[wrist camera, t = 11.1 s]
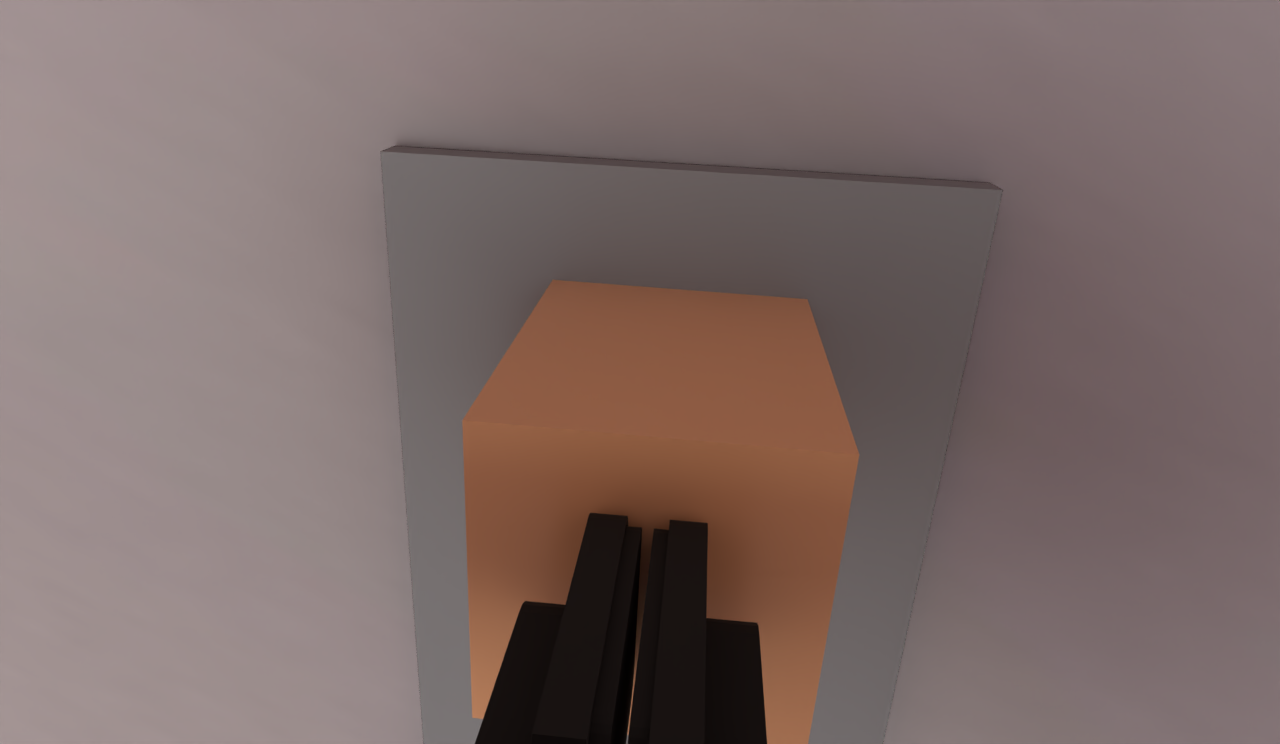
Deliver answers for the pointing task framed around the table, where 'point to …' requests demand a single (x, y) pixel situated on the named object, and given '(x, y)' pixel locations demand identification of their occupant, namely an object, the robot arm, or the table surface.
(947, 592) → the table surface
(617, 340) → the orange wooden cube
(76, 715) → the table surface
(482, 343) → the board
